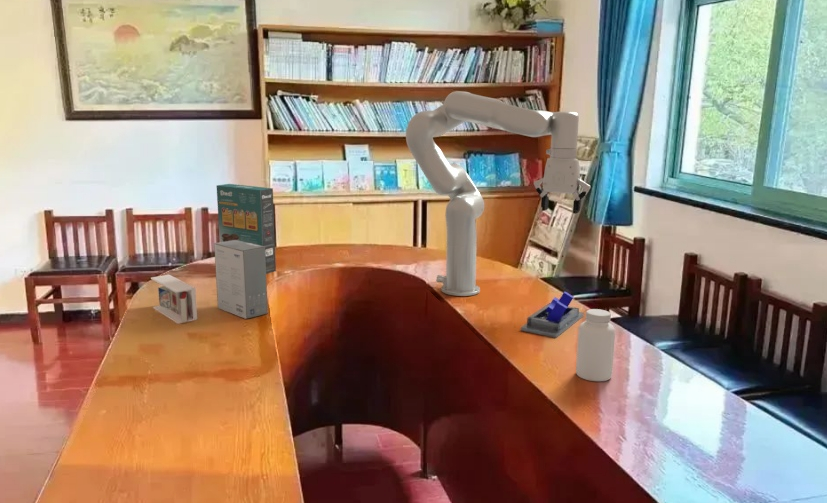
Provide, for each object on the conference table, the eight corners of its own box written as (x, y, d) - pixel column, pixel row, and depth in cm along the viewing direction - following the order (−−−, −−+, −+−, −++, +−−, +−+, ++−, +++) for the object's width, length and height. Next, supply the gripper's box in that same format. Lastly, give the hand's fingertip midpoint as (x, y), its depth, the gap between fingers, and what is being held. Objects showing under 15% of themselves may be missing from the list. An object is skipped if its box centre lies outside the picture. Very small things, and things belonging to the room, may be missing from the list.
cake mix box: (275, 271, 243) (272, 188, 236) (263, 274, 238) (260, 190, 231) (233, 262, 254) (229, 183, 248) (220, 266, 249) (216, 185, 243)
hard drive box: (269, 314, 194) (266, 246, 190) (246, 320, 189) (242, 250, 184) (238, 303, 204) (235, 238, 200) (216, 308, 199) (212, 242, 195)
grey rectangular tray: (520, 330, 182) (521, 320, 181) (550, 310, 200) (551, 300, 199) (556, 337, 177) (556, 326, 176) (583, 316, 195) (584, 306, 194)
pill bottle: (612, 371, 155) (617, 309, 152) (610, 384, 148) (615, 319, 144) (577, 366, 157) (581, 305, 154) (573, 379, 150) (578, 315, 147)
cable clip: (549, 305, 194) (560, 288, 192) (563, 313, 193) (573, 296, 191) (541, 317, 183) (551, 299, 181) (555, 326, 182) (566, 308, 180)
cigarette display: (152, 308, 199) (150, 277, 197) (171, 304, 202) (169, 274, 200) (179, 325, 184) (177, 292, 182) (199, 321, 188) (197, 288, 186)
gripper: (531, 153, 200) (528, 210, 204) (588, 156, 191) (584, 216, 195) (540, 152, 206) (537, 207, 210) (596, 154, 197) (592, 212, 201)
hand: (560, 211), depth 202 cm, fingers open, 9 cm apart
